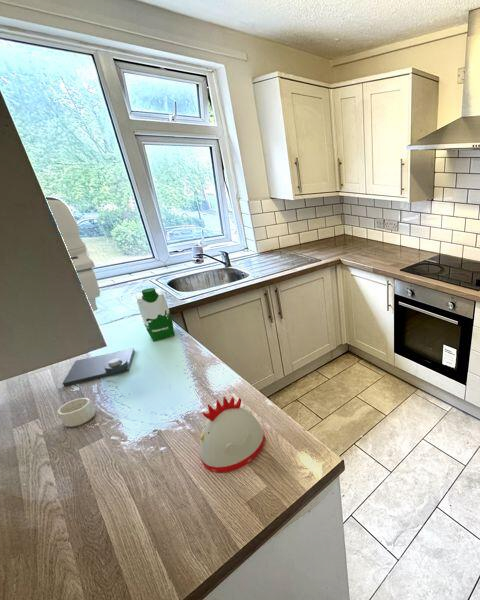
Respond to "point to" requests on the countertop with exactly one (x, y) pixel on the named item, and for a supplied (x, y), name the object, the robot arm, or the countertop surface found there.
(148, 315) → the milk carton
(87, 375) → the scale
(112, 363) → the tare button
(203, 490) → the countertop surface
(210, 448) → the kitchen timer
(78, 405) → the bowl
